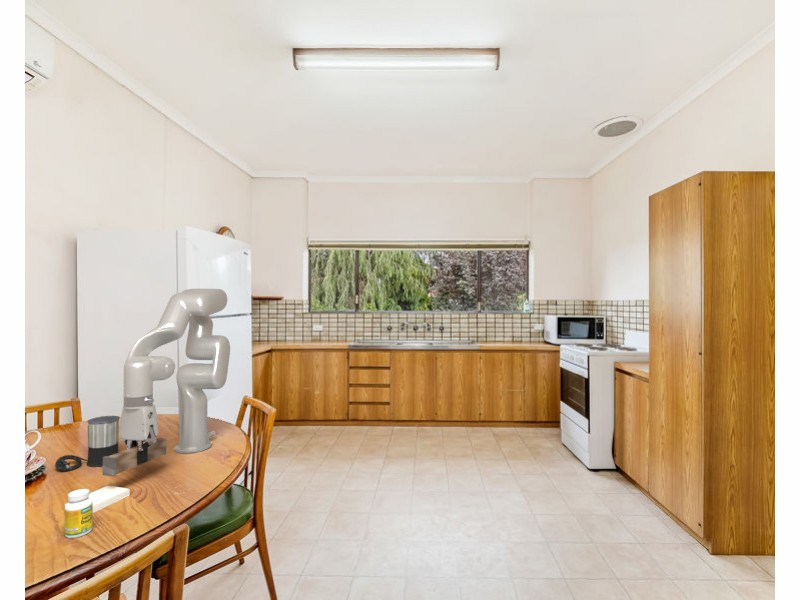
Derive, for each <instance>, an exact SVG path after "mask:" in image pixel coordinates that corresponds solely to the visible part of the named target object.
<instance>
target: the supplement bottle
mask: <svg viewBox="0 0 800 600" xmlns="http://www.w3.org/2000/svg"><path fill="white" fill-rule="evenodd" d="M89 494H90V489H88V488H82V489H76V490H73V491H71V492H69V493H68V494H67V500H68V502H67V503H65V504H66V505H65V504H64V536H65V538H68V539H76V538H81V537H83V536H85V535H87V534H89V533H91V531H92V530H93V528H94V527H93V526H94V525H93V524H94V521H93V519H94V516H93V514H94V513H93V501H92V499H91V498H89Z"/></svg>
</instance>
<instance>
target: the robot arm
mask: <svg viewBox="0 0 800 600" xmlns="http://www.w3.org/2000/svg"><path fill="white" fill-rule="evenodd" d="M227 304H228V295H227V293H226V291H225V290H223V289H221V288H188V289H184V290H183V291H181V292H176V293H174V294H173V295H171V297H170V298H169V301H168V302H167V305H166V306H165V309H164V311H163V314H162V316H161V317H160V320H159V321H158V324H157V325H156V326H155V328H153V329H151V330H149V331H148V332H147V333H146V334H145V335H143V336H142V337H140V338H139V339H138V340H137V341H136V342H135V343H134V344H133V346H132V347H131V349H130V352H129V353H128V355H127V357H126V360H125V363H124V366H123V407H122V410H121V416H120V423H119V424H120V425H119V430H120V431H119V434H120V438H119V440H121V441H122V442H123V443H124V444H125V445H126V450H127V449H130V448H133V447H136V446H138V448H139V451H137V465H138V466H140V464H141V465H143V464H145V463H148V462H147V460H148V448H149V446H150V445H151V444H153V443H155V442H156V439H157V438H156V437H157V436H158V434H159V427H158V426H159V425H158V423H159V422H158V415H157V409H156V405H155V404H154V401H155V400H154V382H155V381H156V382H157V381H165V380H167V379H170V378H171V377H172V376H173V375H174V373H175V371H176V363H175V361H174V360H173V359H172V358H170V357H168V356H164V355H163V356H154V355H153V356H151V355H150V354H151V353H152V352H153V351H155V350H156V349H158V348H160V347H162V346H164V345H167V344H170V343H172V342H175V341H177V340H179V339H181V338H182V337H183V336H184V334H185V332H186V330H187V327H188V331H187V336H186V337H187V338H186V344H185V356H186V358H188V359H189V360H195V361H212V363H197V362H196V363H195V362H194V363H193V362H192V363H186V364H183V365H181V366H180V367H179V368H178V369H177V371H176V375H175V377H176V383H177V388H178V389H177V390H178V400H179V401H178V403H179V411H178V412H179V414H178V415H179V416H178V419H179V421H178V422H179V425H178V426H179V428H178V431H179V433H178V436H179V439H178V441H179V443H177V444H176V445H175V446H174V451H175V452H176V453H179V454H190V453H191V454H192V453H199V452H202V451H206V450H208V449H210V448H211V447H212V445H213V444H212V443H213V442H212V441H211V440H210V438H211V437H214V436H216V430H212V431H208V397H207V395H206V393H205V392H204V390H220V389H223V387H224V386H225V384H226V381H227V379H228V378H227V377H228V371H229V363H230V355H231V344H230V341H229V339H228V338H227V336H224V335H219V334H217V335H216V334H215V335H213V331H214V330H213V328H214V323H213V320H212V318H211V316H212V315H214V314H216V313H220V312H222V311H223V310H225V308H226V307H227ZM142 463H143V464H142Z"/></svg>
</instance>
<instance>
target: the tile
mask: <svg viewBox="0 0 800 600" xmlns="http://www.w3.org/2000/svg"><path fill="white" fill-rule="evenodd" d="M130 491H131V490H130V488H127V487H121V486H120V487H119V486H114V485H106V486H103V487H102V488H100V489H97V490H95V491H92V492H89V498H91V499H92V501H93V514H94V513H96V512H98V511H100V510H102V509H104V508H107V507H108V506H110V505H113V504H115V503H116V502H117V503H118V502H119V501H121V500H122V499H125V498H127V497H129V496H130V495H131V494H130V493H131V492H130ZM66 504H67V503H65V504H64V506H65V505H66Z"/></svg>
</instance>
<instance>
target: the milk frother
mask: <svg viewBox="0 0 800 600" xmlns="http://www.w3.org/2000/svg"><path fill="white" fill-rule="evenodd" d="M120 419H121V416H120V415H119V416H118V415H101V416H97V417H93V418H90V419H88V420H87V448H88V449H87V450H88V451H87V459H85V458H83V457H81V456H78V455H74V454H65V455H63V456H60V457H58V459H57V460H56V461H55V465H54V466H55V468H56V470H59V471H62V472H63V471H73V470H75V469H78V468H79V467H80V466H81V465H82V463H83V461H84V462H86V466H88V467H94V468H95V467H103V457H105V456H110V455H113V454H116V453H119V440H120V438H119V434H120V431H119V430H120V425H119V424H120V422H119V421H120ZM66 460H71V461H72V460H73V461H75V462H76V464H74V465H71V462H68V461H66ZM70 465H71V466H70Z"/></svg>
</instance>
